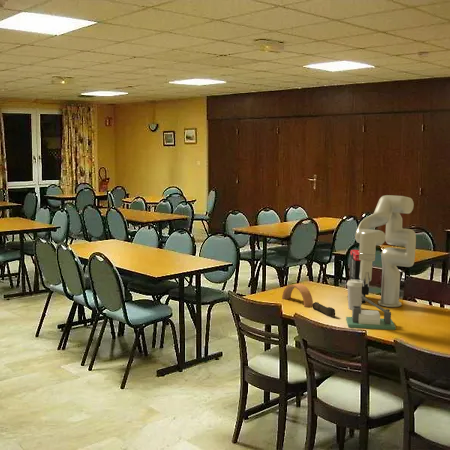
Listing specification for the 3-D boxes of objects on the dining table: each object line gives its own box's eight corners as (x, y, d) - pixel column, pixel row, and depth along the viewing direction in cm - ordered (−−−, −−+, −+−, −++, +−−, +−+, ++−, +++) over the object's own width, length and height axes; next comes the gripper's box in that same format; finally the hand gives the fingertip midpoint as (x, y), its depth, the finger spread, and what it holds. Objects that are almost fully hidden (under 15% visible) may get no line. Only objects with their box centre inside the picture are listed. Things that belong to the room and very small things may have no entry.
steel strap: (360, 296, 297) (362, 293, 296) (387, 313, 296) (390, 309, 296) (360, 298, 294) (363, 294, 293) (388, 315, 293) (390, 311, 293)
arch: (290, 297, 347) (290, 280, 345) (312, 305, 330) (313, 287, 328) (282, 299, 344) (282, 281, 342) (304, 307, 327) (305, 289, 325)
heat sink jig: (346, 319, 304) (346, 303, 303) (391, 321, 301) (392, 305, 300) (348, 327, 291) (349, 310, 290) (395, 329, 289) (396, 312, 288)
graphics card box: (366, 303, 336) (368, 255, 332) (353, 303, 336) (355, 254, 332) (359, 295, 353) (361, 249, 349) (347, 295, 353) (349, 249, 349)
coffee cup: (363, 311, 319) (365, 283, 317) (345, 310, 321) (346, 282, 319) (363, 306, 329) (364, 279, 327) (345, 305, 331) (346, 278, 329)
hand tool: (311, 309, 323) (312, 300, 322) (318, 308, 324) (318, 300, 324) (329, 319, 305) (330, 310, 305) (336, 318, 307) (337, 309, 306)
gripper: (357, 254, 300) (355, 290, 302) (360, 259, 285) (358, 297, 287) (373, 254, 299) (371, 291, 301) (376, 259, 284) (374, 298, 286)
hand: (365, 294), depth 294 cm, fingers closed
